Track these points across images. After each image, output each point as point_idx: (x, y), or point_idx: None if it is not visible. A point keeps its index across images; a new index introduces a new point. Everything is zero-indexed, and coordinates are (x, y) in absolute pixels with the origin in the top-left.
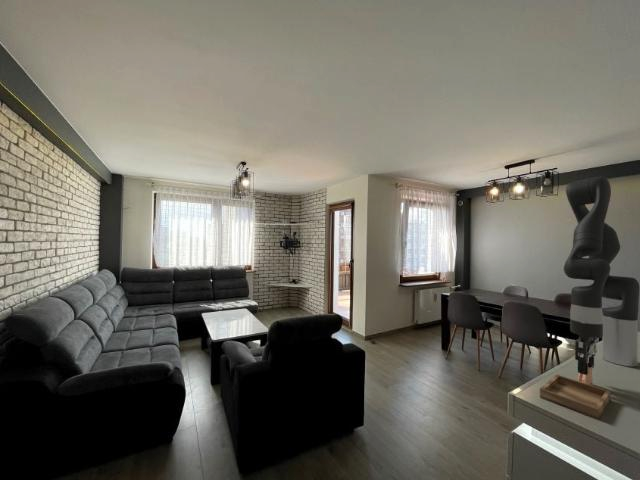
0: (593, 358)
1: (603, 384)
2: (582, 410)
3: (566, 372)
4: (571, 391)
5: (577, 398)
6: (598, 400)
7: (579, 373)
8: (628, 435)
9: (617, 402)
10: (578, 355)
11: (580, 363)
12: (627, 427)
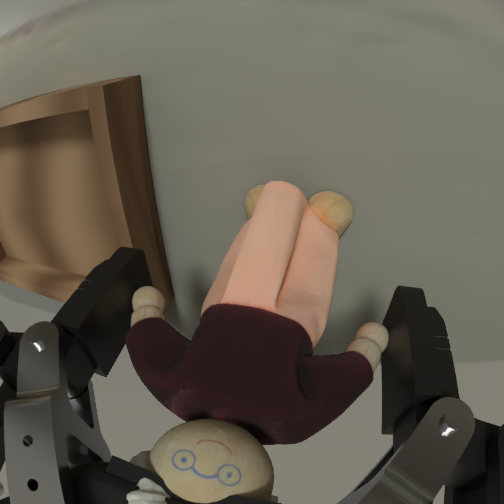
0: (382, 419)
1: (390, 284)
2: None
3: (455, 92)
4: (64, 179)
5: (33, 210)
6: (92, 267)
7: (254, 220)
8: (20, 298)
9: (178, 311)
10: (25, 377)
11: (58, 324)
12: (44, 303)
